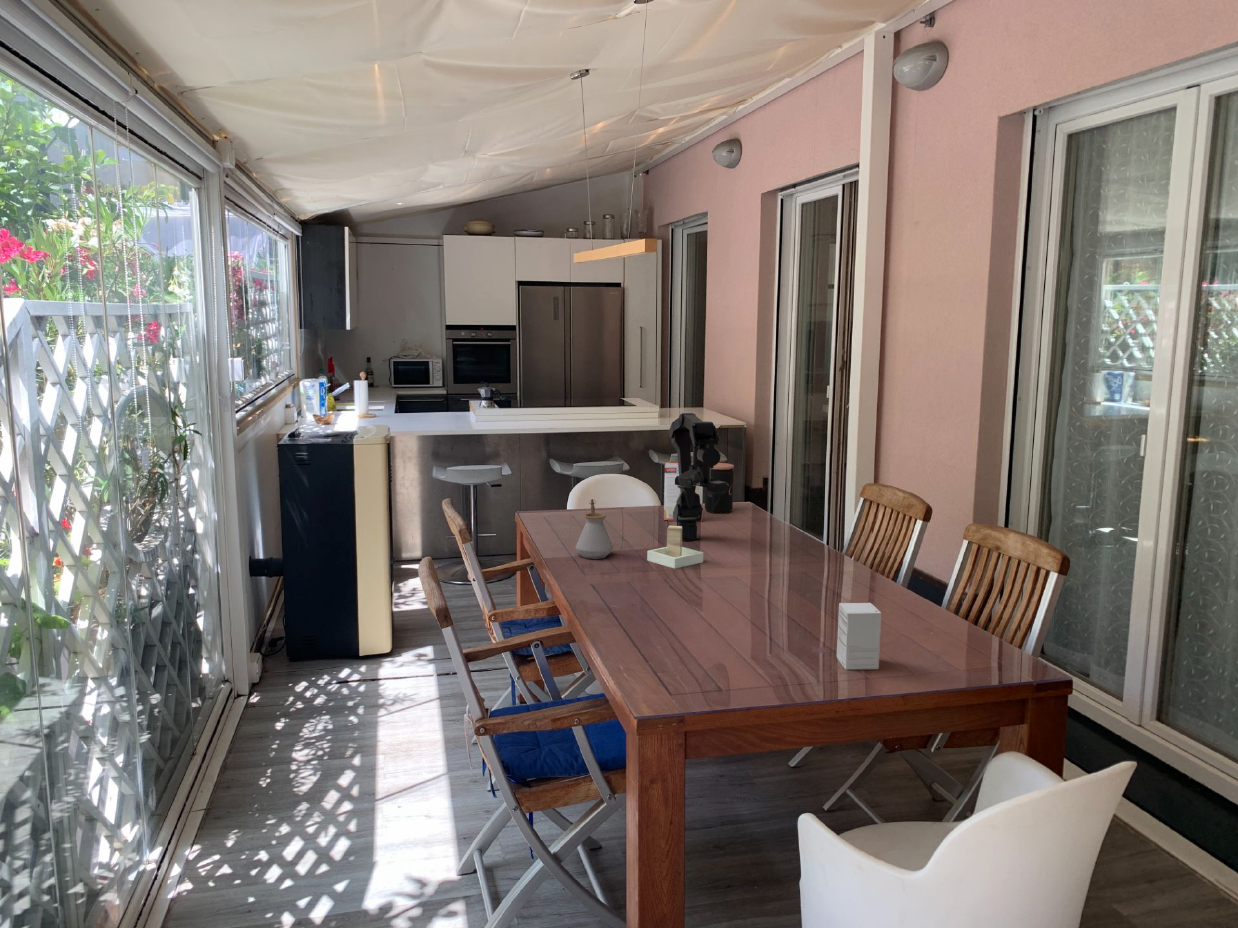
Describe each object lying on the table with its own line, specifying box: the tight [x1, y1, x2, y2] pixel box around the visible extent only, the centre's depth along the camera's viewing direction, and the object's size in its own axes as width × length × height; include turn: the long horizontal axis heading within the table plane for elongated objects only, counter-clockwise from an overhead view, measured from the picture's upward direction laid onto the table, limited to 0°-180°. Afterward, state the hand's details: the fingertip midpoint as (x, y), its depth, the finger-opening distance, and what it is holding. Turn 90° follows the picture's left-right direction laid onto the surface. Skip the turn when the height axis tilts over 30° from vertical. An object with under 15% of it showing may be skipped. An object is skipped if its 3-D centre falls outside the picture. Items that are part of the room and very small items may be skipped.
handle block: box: [666, 525, 683, 557], centre depth 284 cm, size 4×4×10 cm
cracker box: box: [663, 462, 704, 523], centre depth 343 cm, size 14×6×21 cm, turn 84°
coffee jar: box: [704, 462, 735, 515], centre depth 359 cm, size 11×11×18 cm
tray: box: [646, 546, 704, 569], centre depth 285 cm, size 12×12×3 cm
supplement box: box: [836, 602, 882, 671], centre depth 202 cm, size 7×7×13 cm
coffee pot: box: [575, 499, 614, 560], centre depth 294 cm, size 21×12×15 cm, turn 5°
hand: (700, 510), depth 297 cm, fingers open, 9 cm apart
